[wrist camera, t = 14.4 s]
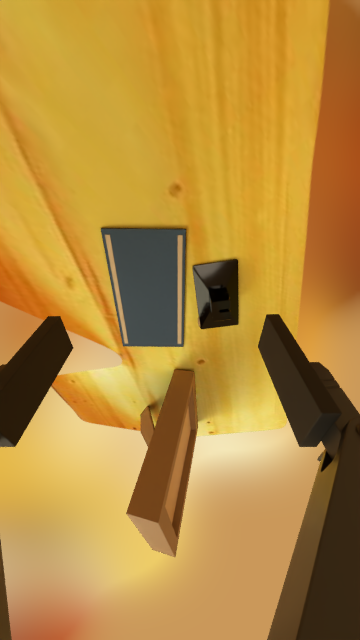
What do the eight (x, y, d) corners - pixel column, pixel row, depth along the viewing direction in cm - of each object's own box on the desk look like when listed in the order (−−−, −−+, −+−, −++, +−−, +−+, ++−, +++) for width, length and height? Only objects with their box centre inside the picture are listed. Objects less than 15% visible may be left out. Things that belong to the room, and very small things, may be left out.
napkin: (101, 228, 31) (100, 228, 30) (185, 228, 31) (185, 229, 30) (123, 345, 43) (123, 346, 43) (183, 345, 43) (183, 347, 43)
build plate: (237, 323, 40) (244, 339, 36) (199, 327, 41) (200, 344, 37) (237, 258, 33) (245, 270, 29) (190, 265, 34) (191, 278, 30)
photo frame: (194, 368, 47) (204, 522, 26) (197, 423, 59) (206, 557, 39) (126, 371, 48) (85, 524, 27) (144, 425, 60) (125, 557, 39)
